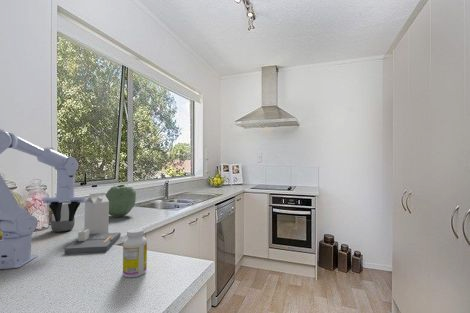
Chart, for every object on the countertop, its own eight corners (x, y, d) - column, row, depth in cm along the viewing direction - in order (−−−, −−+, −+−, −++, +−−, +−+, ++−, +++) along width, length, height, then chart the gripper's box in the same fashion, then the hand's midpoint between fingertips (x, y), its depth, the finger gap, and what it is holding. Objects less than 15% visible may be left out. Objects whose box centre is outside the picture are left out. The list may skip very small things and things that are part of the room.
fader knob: (84, 240, 93) (84, 231, 93) (77, 241, 92) (78, 231, 93) (88, 237, 97) (89, 228, 97) (82, 238, 96) (82, 229, 96)
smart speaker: (56, 228, 118) (57, 200, 118) (77, 227, 120) (78, 200, 121) (46, 234, 109) (47, 203, 109) (69, 232, 111) (70, 203, 111)
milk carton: (83, 235, 108) (85, 193, 108) (99, 231, 114) (100, 192, 115) (93, 237, 104) (94, 194, 105) (108, 233, 111) (109, 192, 111)
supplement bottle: (139, 266, 76) (140, 226, 76) (150, 272, 72) (151, 229, 72) (118, 273, 71) (119, 230, 71) (129, 280, 66) (130, 234, 67)
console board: (106, 251, 88) (107, 244, 88) (64, 254, 85) (65, 246, 85) (120, 236, 106) (120, 230, 106) (86, 238, 103) (86, 232, 103)
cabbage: (100, 216, 146) (101, 183, 147) (132, 212, 157) (133, 182, 158) (103, 221, 134) (104, 185, 134) (138, 217, 144) (139, 184, 145)
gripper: (89, 185, 99) (88, 218, 99) (50, 185, 96) (49, 219, 96) (82, 187, 92) (81, 222, 92) (40, 187, 90) (39, 223, 89)
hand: (64, 221), depth 93 cm, fingers open, 4 cm apart
